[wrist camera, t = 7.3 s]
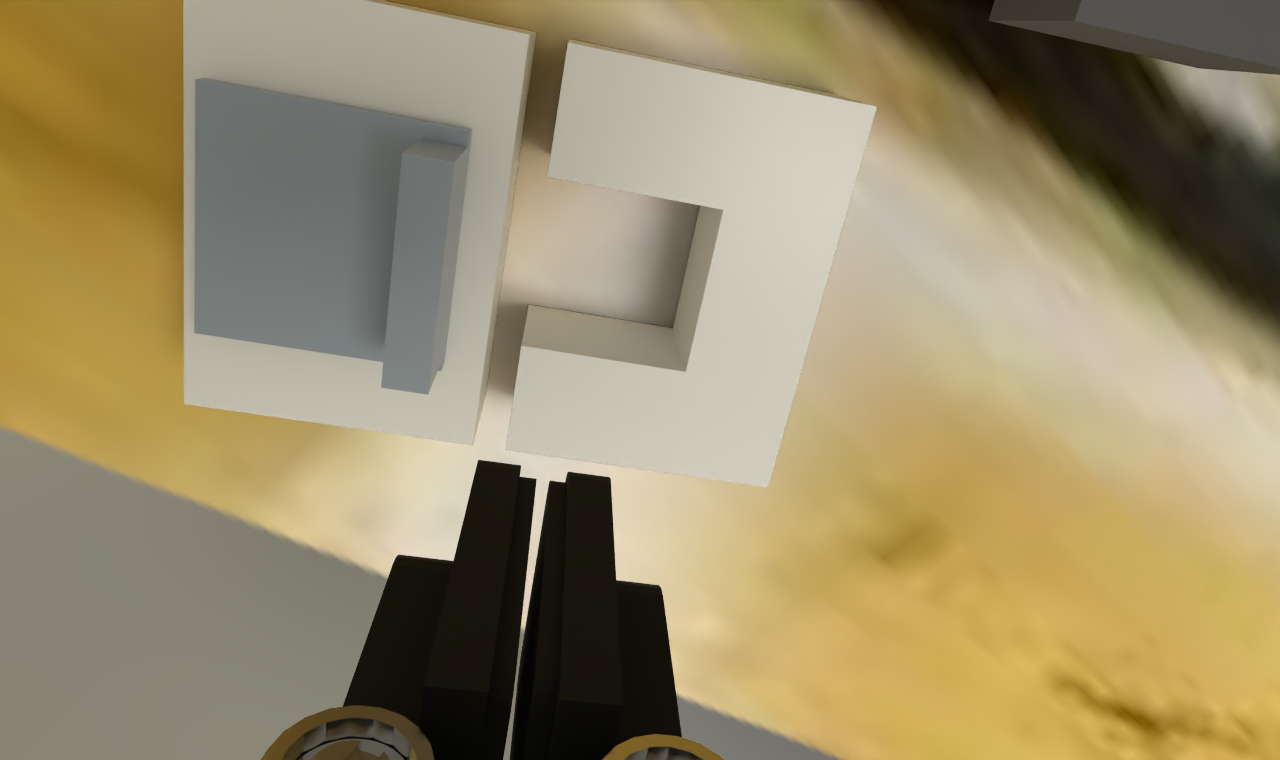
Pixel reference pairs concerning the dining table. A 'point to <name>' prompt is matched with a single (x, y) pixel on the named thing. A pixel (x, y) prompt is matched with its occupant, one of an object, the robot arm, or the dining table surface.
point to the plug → (1162, 28)
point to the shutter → (327, 227)
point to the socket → (581, 152)
